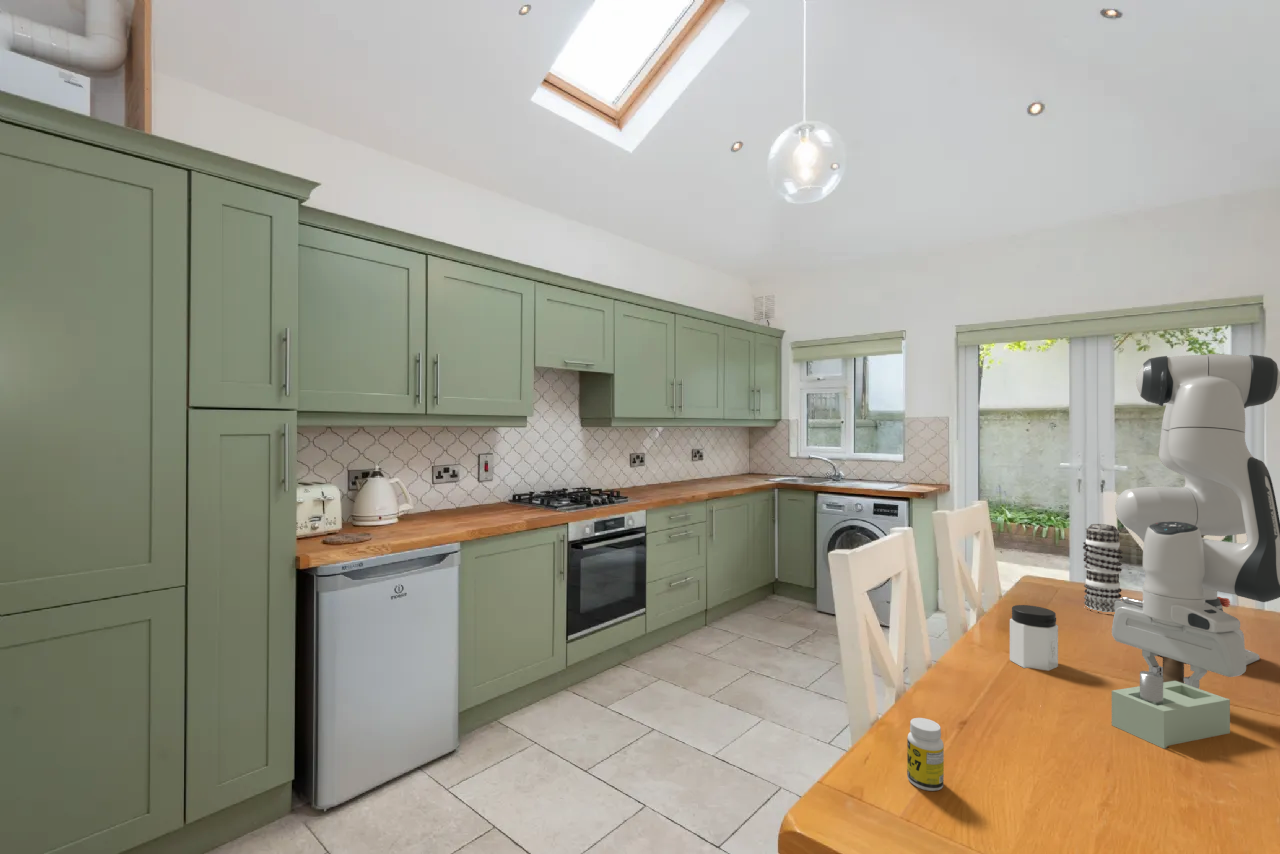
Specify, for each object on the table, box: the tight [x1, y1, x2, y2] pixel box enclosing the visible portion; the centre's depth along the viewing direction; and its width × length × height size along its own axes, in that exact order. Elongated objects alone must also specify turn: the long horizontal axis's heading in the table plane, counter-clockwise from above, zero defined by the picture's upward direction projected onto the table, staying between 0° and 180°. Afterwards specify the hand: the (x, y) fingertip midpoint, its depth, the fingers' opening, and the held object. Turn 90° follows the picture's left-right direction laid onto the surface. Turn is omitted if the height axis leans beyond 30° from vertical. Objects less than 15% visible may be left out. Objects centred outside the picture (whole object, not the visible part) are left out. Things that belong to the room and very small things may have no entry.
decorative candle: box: [1082, 523, 1123, 612], centre depth 172 cm, size 9×9×25 cm
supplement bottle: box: [906, 717, 945, 792], centre depth 85 cm, size 5×5×8 cm
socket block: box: [1111, 681, 1231, 749], centre depth 101 cm, size 16×8×6 cm, turn 107°
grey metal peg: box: [1139, 670, 1163, 706], centre depth 100 cm, size 3×3×10 cm
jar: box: [1009, 604, 1059, 672], centre depth 130 cm, size 9×8×12 cm
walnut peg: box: [1162, 656, 1185, 684], centre depth 111 cm, size 3×3×10 cm
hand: (1173, 681), depth 111 cm, fingers open, 4 cm apart
